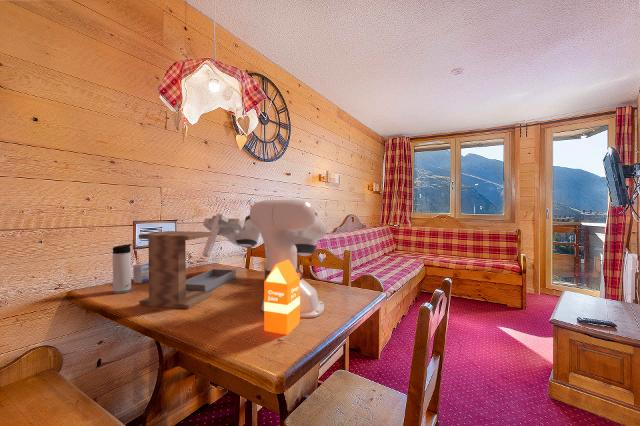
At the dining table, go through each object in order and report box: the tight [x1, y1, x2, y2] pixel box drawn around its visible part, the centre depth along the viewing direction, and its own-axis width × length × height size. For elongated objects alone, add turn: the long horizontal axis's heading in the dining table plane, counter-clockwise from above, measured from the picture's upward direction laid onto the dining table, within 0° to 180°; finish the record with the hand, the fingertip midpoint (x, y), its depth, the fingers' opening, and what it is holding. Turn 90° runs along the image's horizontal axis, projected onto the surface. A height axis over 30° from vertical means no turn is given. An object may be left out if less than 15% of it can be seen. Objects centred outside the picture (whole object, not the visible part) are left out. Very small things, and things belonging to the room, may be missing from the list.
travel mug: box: [112, 243, 133, 295], centre depth 118 cm, size 6×7×20 cm
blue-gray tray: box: [186, 268, 237, 292], centre depth 130 cm, size 13×28×4 cm, turn 170°
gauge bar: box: [201, 213, 224, 258], centre depth 133 cm, size 2×22×2 cm
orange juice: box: [263, 259, 301, 335], centre depth 85 cm, size 8×9×20 cm
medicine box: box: [132, 261, 149, 284], centre depth 135 cm, size 8×4×9 cm, turn 168°
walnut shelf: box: [138, 230, 213, 310], centre depth 108 cm, size 20×15×26 cm
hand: (216, 216), depth 136 cm, fingers closed on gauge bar, 2 cm apart
